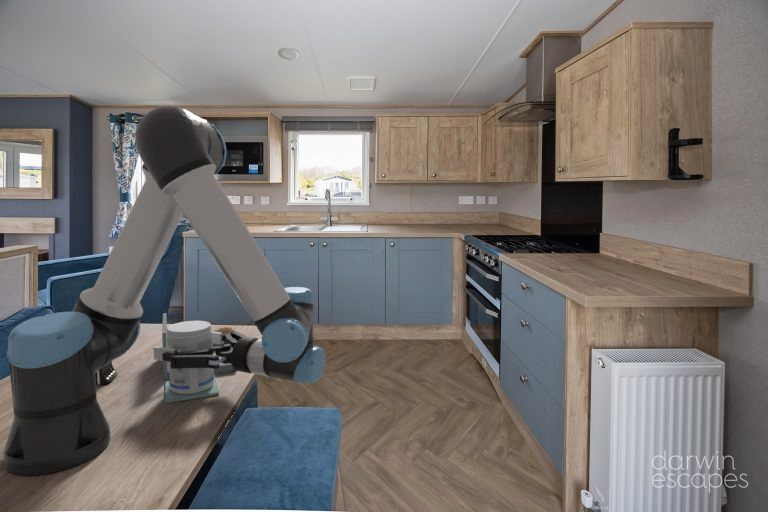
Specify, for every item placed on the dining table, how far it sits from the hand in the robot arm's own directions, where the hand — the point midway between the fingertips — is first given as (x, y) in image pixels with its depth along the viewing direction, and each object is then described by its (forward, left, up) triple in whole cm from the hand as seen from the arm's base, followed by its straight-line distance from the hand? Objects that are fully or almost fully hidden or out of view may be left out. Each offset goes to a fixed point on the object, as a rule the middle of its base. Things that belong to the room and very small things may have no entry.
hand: (178, 343), depth 105 cm
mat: (+2, -2, -11) cm, 11 cm away
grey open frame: (+5, +15, -11) cm, 19 cm away
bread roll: (+14, +35, -11) cm, 40 cm away
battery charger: (-16, +11, -11) cm, 22 cm away
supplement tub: (+2, -3, -10) cm, 11 cm away
